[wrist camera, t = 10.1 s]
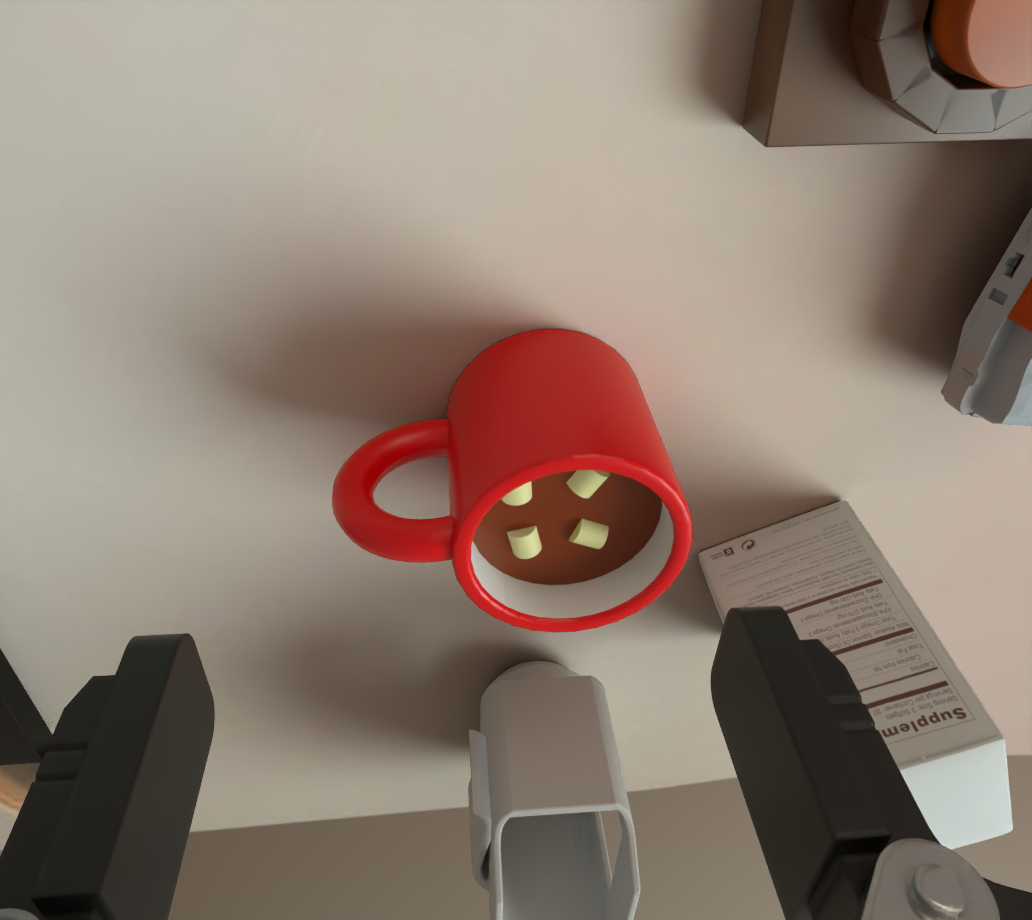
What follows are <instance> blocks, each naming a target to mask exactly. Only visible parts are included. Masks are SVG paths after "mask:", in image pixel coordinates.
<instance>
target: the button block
mask: <svg viewBox="0 0 1032 920" xmlns="http://www.w3.org/2000/svg"><path fill="white" fill-rule="evenodd" d="M933 3H934V0H763V6H762V12H761V18H760V24H759V31H758V37H757V43H756V49H755V55H754V61H753V67H752V73H751V80H750V86H749V92H748V98H747V104H746V110H745V116H744V122H743V128H744V129H745V130H746V131H747V132H748V133H749V134H751V135H752V136H753V137H754V138H755V139H756V140H758V141H759V142H760V143H761V144H762V145H764V146H765V147H792V146H826V145H860V144H894V143H928V142H961V141H995V140H1029V139H1032V85H1029V86H1025V87H1020V88H1013V89H1005V88H998V87H993V86H991V85H988V84H986V83H983V82H981V81H978V80H976V79H973V78H971V77H968V76H966V75H963V74H961V73H958V72H956V71H954V70H952V69H951V68H949V67H948V66H947V65H946V64H944V63H943V62H942V60H941V59H940V57H939V56H938V54H937V52H936V50H935V48H934V45H933V41H932V36H931V13H932V7H933Z"/></svg>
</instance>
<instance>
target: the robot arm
mask: <svg viewBox="0 0 1032 920" xmlns="http://www.w3.org/2000/svg"><path fill="white" fill-rule="evenodd" d="M711 693H712V700H713V704H714V708H715V712H716V715H717V718H718V721H719V724H720V727H721V729H722V732H723V735H724V738H725V741H726V744H727V747H728V750H729V753H730V756H731V759H732V762H733V765H734V768H735V771H736V774H737V777H738V780H739V783H740V786H741V789H742V792H743V795H744V798H745V801H746V804H747V806H748V809H749V812H750V815H751V818H752V821H753V824H754V827H755V830H756V833H757V836H758V839H759V842H760V845H761V848H762V851H763V854H764V857H765V860H766V863H767V866H768V869H769V872H770V874H771V877H772V880H773V884H774V886H775V889H776V892H777V895H778V898H779V901H780V904H781V907H782V910H783V913H784V916H785V919H786V920H1032V893H1030V892H1026V891H1023V890H1018V889H1015V888H1011V887H1007V886H1004V885H1000V884H997V883H994V882H992V881H990V880H987V879H985V878H983V877H982V876H981V875H980V874H979V873H978V872H977V871H976V869H975V868H974V867H973V866H972V865H970V864H969V863H968V862H967V861H966V860H965V859H964V858H962V857H961V856H960V855H958V854H957V853H955V852H954V851H952V850H950V849H949V848H947V847H945V846H943V845H941V844H940V842H939V841H938V840H937V838H936V837H935V836H934V834H933V833H932V831H931V829H930V828H929V826H928V824H927V822H926V820H925V818H924V816H923V815H922V813H921V811H920V809H919V807H918V805H917V803H916V801H915V799H914V797H913V795H912V793H911V791H910V789H909V788H908V786H907V784H906V782H905V780H904V778H903V776H902V774H901V772H900V770H899V768H898V766H897V764H896V762H895V761H894V759H893V757H892V755H891V753H890V751H889V749H888V747H887V745H886V743H885V741H884V739H883V737H882V735H881V734H880V732H879V730H876V728H875V722H874V720H873V718H872V716H871V714H870V712H869V710H868V708H867V707H866V705H865V704H863V703H862V700H861V698H862V697H861V695H860V693H859V691H858V689H857V687H856V685H855V683H854V681H853V680H852V678H851V676H850V674H849V672H848V670H847V668H846V666H845V665H844V664H843V663H842V662H841V661H840V660H839V659H838V658H837V657H836V656H835V655H834V654H833V653H832V652H831V651H830V650H829V649H828V648H827V647H826V646H825V645H824V644H823V643H822V642H821V641H820V640H819V639H807V640H800V639H799V637H798V635H797V633H796V631H795V629H794V627H793V625H792V623H791V620H790V618H789V616H788V614H787V613H786V611H785V610H784V609H783V608H782V607H780V606H758V607H738V608H731V609H729V611H728V612H727V615H726V618H725V622H724V626H723V629H722V633H721V637H720V640H719V644H718V648H717V651H716V655H715V659H714V662H713V666H712V670H711ZM213 731H214V701H213V696H212V693H211V690H210V687H209V684H208V681H207V678H206V675H205V672H204V669H203V666H202V663H201V660H200V657H199V654H198V651H197V648H196V645H195V642H194V640H193V638H192V636H191V635H190V634H188V633H187V634H167V635H147V636H135V637H133V638H132V639H131V640H130V641H129V643H128V645H127V647H126V649H125V652H124V654H123V657H122V659H121V662H120V665H119V667H118V670H117V672H116V675H110V676H93V677H92V678H91V679H90V680H89V681H88V683H87V684H86V685H85V686H84V687H83V688H82V689H81V690H80V691H79V693H78V694H77V695H76V696H75V697H74V698H73V699H72V700H71V702H70V703H69V704H68V705H67V706H66V707H65V708H64V710H63V712H62V715H61V717H60V719H59V722H58V724H57V726H56V729H55V731H54V733H53V736H52V738H51V740H50V743H49V750H48V752H45V754H44V756H43V759H42V761H41V763H40V766H39V768H38V770H37V773H36V781H35V782H32V784H31V787H30V789H29V791H28V794H27V796H26V798H25V801H24V803H23V805H22V808H21V810H20V812H19V815H18V817H17V819H16V822H15V824H14V826H13V828H12V831H11V833H10V835H9V838H8V840H7V842H6V845H5V847H4V849H3V852H2V854H1V857H0V920H168V916H169V912H170V908H171V903H172V899H173V895H174V891H175V887H176V883H177V879H178V875H179V871H180V867H181V863H182V859H183V855H184V850H185V847H186V842H187V839H188V835H189V831H190V827H191V823H192V818H193V814H194V810H195V806H196V802H197V798H198V794H199V790H200V786H201V782H202V778H203V774H204V770H205V766H206V762H207V758H208V754H209V750H210V746H211V742H212V737H213Z"/></svg>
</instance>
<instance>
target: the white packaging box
mask: <svg viewBox="0 0 1032 920" xmlns="http://www.w3.org/2000/svg"><path fill="white" fill-rule="evenodd" d="M698 558H699V561H700V564H701V567H702V570H703V573H704V575H705V578H706V581H707V584H708V587H709V589H710V592H711V595H712V597H713V600H714V603H715V606H716V608H717V610H718V613H719V615H720V618H721V620H722V623H723V625H724V622H725V618H726V615H727V612H728V611H729V609H731V608H738V607H758V606H780V607H782V608H783V609H784V610H785V611H786V613H787V614H788V616H789V618H790V620H791V623H792V625H793V627H794V629H795V631H796V633H797V635H798V637H799V639H800V640H807V639H819V640H820V641H821V642H822V643H823V644H824V645H825V646H826V647H827V648H828V649H829V650H830V651H831V652H832V653H833V654H834V655H835V656H836V657H837V658H838V659H839V660H840V661H841V662H842V663H843V664H844V665H845V666H846V668H847V670H848V672H849V674H850V676H851V678H852V680H853V681H854V683H855V685H856V687H857V689H858V691H859V693H860V695H861V697H862V698H861V700H862V703H863V704H865V705H866V707H867V708H868V710H869V712H870V714H871V716H872V718H873V720H874V722H875V728H876V730H879V732H880V734H881V735H882V737H883V739H884V741H885V743H886V745H887V747H888V749H889V751H890V753H891V755H892V757H893V759H894V761H895V762H896V764H897V766H898V768H899V770H900V772H901V774H902V776H903V778H904V780H905V782H906V784H907V786H908V788H909V789H910V791H911V793H912V795H913V797H914V799H915V801H916V803H917V805H918V807H919V809H920V811H921V813H922V815H923V816H924V818H925V820H926V822H927V824H928V826H929V828H930V829H931V831H932V833H933V834H934V836H935V837H936V838H937V840H938V841H939V842H940V844H941V845H943V846H945V847H947V848H949V849H950V850H951V849H954V848H958V847H961V846H965V845H969V844H972V843H976V842H980V841H983V840H987V839H990V838H993V837H996V836H1000V835H1003V834H1005V833H1008V832H1010V831H1011V830H1012V829H1013V826H1012V815H1011V802H1010V791H1009V779H1008V769H1007V757H1006V746H1005V737H1004V735H1003V734H1002V733H1001V731H1000V730H999V728H998V727H997V725H996V724H995V722H994V721H993V719H992V718H991V716H990V715H989V713H988V712H987V710H986V709H985V707H984V706H983V704H982V703H981V701H980V700H979V698H978V697H977V695H976V694H975V692H974V691H973V689H972V688H971V686H970V685H969V683H968V682H967V680H966V679H965V677H964V676H963V674H962V673H961V671H960V670H959V668H958V667H957V665H956V664H955V662H954V661H953V659H952V657H951V656H950V654H949V653H948V651H947V650H946V648H945V647H944V645H943V644H942V642H941V640H940V639H939V637H938V636H937V634H936V633H935V631H934V630H933V628H932V627H931V625H930V624H929V622H928V621H927V619H926V618H925V616H924V615H923V613H922V612H921V610H920V609H919V607H918V606H917V604H916V603H915V601H914V600H913V598H912V597H911V595H910V594H909V592H908V591H907V589H906V588H905V586H904V585H903V583H902V582H901V580H900V579H899V577H898V576H897V574H896V573H895V571H894V570H893V568H892V567H891V565H890V564H889V562H888V561H887V559H886V558H885V556H884V555H883V553H882V552H881V550H880V549H879V547H878V546H877V545H876V543H875V542H874V540H873V539H872V537H871V536H870V534H869V533H868V531H867V530H866V528H865V527H864V525H863V524H862V523H861V521H860V520H859V518H858V517H857V515H856V514H855V512H854V510H853V509H852V507H851V506H850V505H849V503H848V502H847V501H839V502H836V503H833V504H831V505H828V506H824V507H821V508H818V509H816V510H813V511H810V512H808V513H805V514H802V515H799V516H796V517H794V518H791V519H788V520H785V521H783V522H780V523H777V524H774V525H771V526H768V527H766V528H763V529H760V530H758V531H755V532H752V533H749V534H746V535H744V536H741V537H738V538H736V539H733V540H730V541H727V542H725V543H722V544H720V545H717V546H714V547H712V548H709V549H706V550H704V551H702V552H700V553H699V554H698Z"/></svg>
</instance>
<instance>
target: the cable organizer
mask: <svg viewBox="0 0 1032 920" xmlns="http://www.w3.org/2000/svg"><path fill="white" fill-rule="evenodd" d="M469 745H470V766H471V779H470V782H469V787H468V793H469V816H470V836H471V837H470V838H471V862H472V874H473V877H474V879H475V880H476V881H477V883H478V884H479V885H480V886H482V887H483V888H484V889H486V890H487V891H488V892H489V905H490V906H489V907H490V920H633V917H634V914H635V910H636V906H637V902H638V899H639V895H640V879H639V869H638V859H637V849H636V839H635V831H634V826H633V821H632V817H631V811H630V807H629V802H628V798H627V793H626V788H625V783H624V779H623V774H622V769H621V765H620V760H619V755H618V751H617V746H616V741H615V737H614V732H613V727H612V722H611V718H610V713H609V708H608V704H607V699H606V694H605V689H604V687H603V685H602V683H601V682H600V681H599V680H597V679H596V678H594V677H592V676H580V675H578V674H577V673H575V672H573V671H571V670H569V669H567V668H565V667H563V666H561V665H558V664H556V663H552V662H547V661H530V662H524V663H521V664H518V665H515V666H513V667H511V668H509V669H507V670H506V671H505V672H503V673H502V674H501V675H499V676H498V677H497V678H496V679H495V680H494V681H493V682H492V683H491V684H490V685H489V686H488V688H487V689H486V690H485V692H484V693H483V695H482V698H481V703H480V732H478V731H475V730H469ZM608 810H618V813H619V818H620V823H621V828H622V839H621V843H620V848H619V852H618V857H617V862H616V866H615V871H614V876H613V880H612V875H611V870H610V864H609V858H608V853H607V848H606V843H605V836H604V831H603V825H602V820H601V814H600V811H608Z"/></svg>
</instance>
